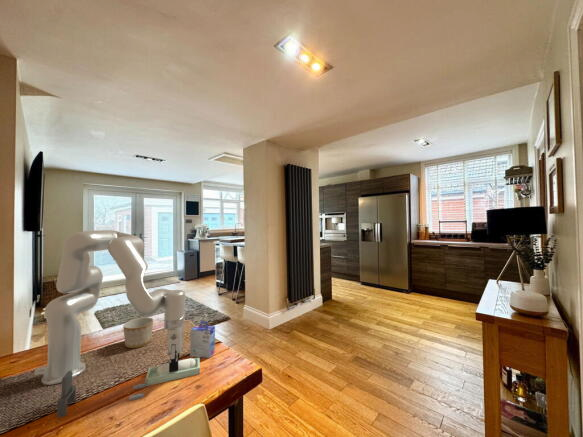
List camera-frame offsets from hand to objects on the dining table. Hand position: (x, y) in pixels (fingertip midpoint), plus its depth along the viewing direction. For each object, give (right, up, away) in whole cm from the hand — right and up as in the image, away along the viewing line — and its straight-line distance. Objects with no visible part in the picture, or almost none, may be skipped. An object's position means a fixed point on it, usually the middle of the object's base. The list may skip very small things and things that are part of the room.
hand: (174, 366), depth 93 cm
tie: (-26, -3, -18) cm, 32 cm away
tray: (0, -3, 0) cm, 3 cm away
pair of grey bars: (-8, -3, -10) cm, 13 cm away
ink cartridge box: (+6, -3, +14) cm, 16 cm away
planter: (-30, -4, +24) cm, 39 cm away
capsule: (+1, -2, 0) cm, 3 cm away
